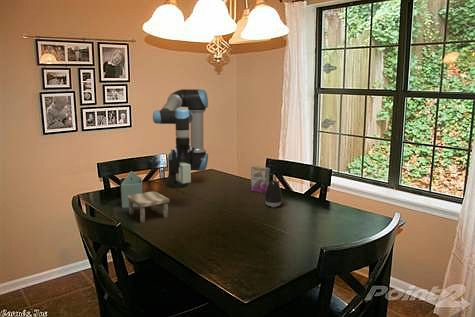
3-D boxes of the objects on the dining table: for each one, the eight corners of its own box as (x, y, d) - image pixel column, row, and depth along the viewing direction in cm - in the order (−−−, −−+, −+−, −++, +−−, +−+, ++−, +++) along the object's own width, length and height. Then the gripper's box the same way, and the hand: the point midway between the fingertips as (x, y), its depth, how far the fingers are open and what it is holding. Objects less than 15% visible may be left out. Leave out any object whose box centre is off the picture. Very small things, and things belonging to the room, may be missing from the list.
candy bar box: (250, 191, 264) (250, 166, 261) (254, 189, 268) (254, 165, 265) (265, 194, 258) (266, 169, 255) (269, 192, 262) (269, 167, 259)
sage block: (183, 178, 232) (183, 162, 230) (190, 182, 226) (190, 164, 224) (176, 180, 229) (175, 163, 227) (182, 183, 223) (182, 165, 221)
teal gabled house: (132, 210, 225) (130, 175, 221) (121, 207, 229) (120, 173, 225) (152, 202, 239) (150, 169, 235) (142, 200, 243) (140, 168, 239)
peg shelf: (155, 208, 228) (154, 191, 226) (169, 217, 214) (169, 199, 212) (127, 213, 219) (126, 195, 217) (141, 223, 205) (140, 204, 203)
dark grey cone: (285, 205, 235) (286, 180, 232) (274, 210, 228) (275, 183, 225) (271, 202, 242) (272, 177, 239) (260, 206, 234) (261, 180, 231)
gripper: (193, 134, 230) (193, 174, 235) (164, 137, 220) (165, 178, 225) (200, 136, 224) (200, 177, 229) (171, 139, 214) (172, 181, 219)
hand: (183, 178), depth 227 cm, fingers closed on sage block, 5 cm apart
